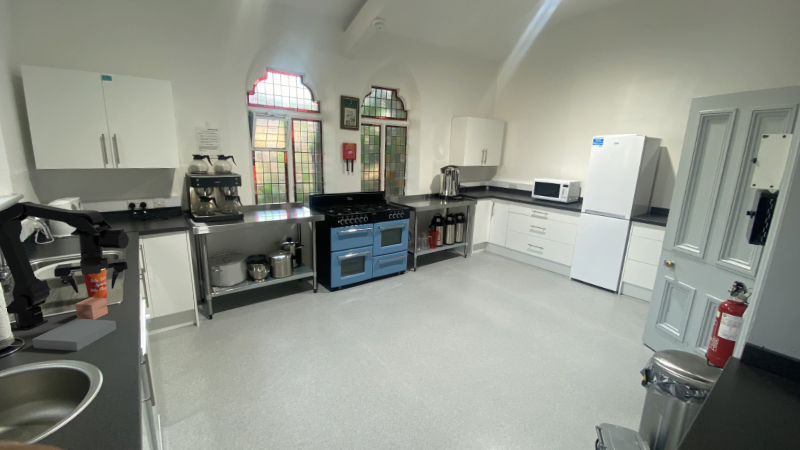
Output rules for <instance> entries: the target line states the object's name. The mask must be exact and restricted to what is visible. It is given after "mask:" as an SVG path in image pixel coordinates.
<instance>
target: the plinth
mask: <svg viewBox="0 0 800 450" xmlns="http://www.w3.org/2000/svg"><path fill="white" fill-rule="evenodd" d="M116 322H117V321H116V320H109V319H108V320H107V319H106V320H105V319H95V320H93V319H77V317H76V318H74V319H72V320H70V321H68V322H66V323H64V324H62V325H59V326H57V327H55V328H53V329H51V330H48V331H46V332H44V333H42V334H41V335H38V336H36V337H34V338H32V345H33V349H41V350H42V349H43V350H44V349H46V350H59V351H60V350H61V351H74V352H75V351H76V352H78V351H79V350H82V349H84V348H85V347H87V346H89V345H91V344H92V343H94V342H96V341H97V340H99V339H101V338H103V337H105V336H106V335H108V334H110V333H112V332H113V331H115V330H117V323H116Z"/></svg>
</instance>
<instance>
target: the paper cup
mask: <svg viewBox="0 0 800 450" xmlns="http://www.w3.org/2000/svg"><path fill="white" fill-rule="evenodd" d="M83 278H84V282H85V283H84V284H85V286H86V287H85V288H86V292H87V297H88V298H91V297H92V298H106V299H107V297H108V290H107V285H108V284H107V268H106V269H101V273H99V274H88V275H83Z"/></svg>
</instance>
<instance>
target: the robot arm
mask: <svg viewBox="0 0 800 450" xmlns="http://www.w3.org/2000/svg"><path fill="white" fill-rule="evenodd" d="M29 217H31V218H33V217H34V218H38V219H43V220H49V221H54V222H59V223H61V222H62V223H64V224H66V225H68V226H69V227H72V228H75V229H74V230H73V231H72V232H70V235H71V236H78V242H79V243H78V244H79V252H80V253H79V254H80V259H79V260H80V261H79V264H80V265H74V266H73V263H72V262H71V263H63V264H57V265H55V268H54V270H53V274H54V278H60V279H61V280H63V279H65V280H66V281H67V282H68V283H69V284H70V285H71V287H72V288H73V290H74V292H75V293H76V294H79V285H78V281H77V277H76V272H81V275H82V276H84V275H88V274H99V273H101V269H106V270H107V269H112V273H111V275H112V276H111V290H112V289H114V287H115V285H116V280H117V278H118V276H119V274H120V273H123V272H124V271H127V270H129V269H128V268H129V267H128V266H129V265H128V263H129V262H128V259H127V258H117V259H112V262H109V259H108V257H104V251H103V248H104V249H121V250H122V249H123V250H124V249H126V248H127V247H128V245H129V240H130V237H129V236H128V234H127V232H125V229H124V228H113V227H112V226H111V225H110V223H108V222H107V220H106V219H105V218H104V217H103V215H102V214H101V212H100V211H98V210H95V209H93V210H92V209H66V208H61V207H56V206H51V205H46V204H40V203H35V202H32V201H22V202H21V201H20V202H17V203H14V204H13V205H10V206H9V207H7V208H5V209H2V210H0V250H1V253H2V255H3V257H4V261H5V262H6V264H7V267H8V269H9V271H10V274H11V276H12V280H13V281H14V284H13V285H14V286H13V288H12V292H11V295H12V299H13V300H12V301H11V302H10V303H9V304H8V305H7V306H6V307H5V308H7V311H6V313H8V315H9V314H10V315H11V314H13V315H14V319H15V320H14V321H15V324H14V325H12V326H11V327H12V328H11V329H14V330H15V329H16V330H31V329H34V328H35V327H38V326H40V325H43V324H45V323H48V322H49V319H47V318H44V313H43V310H42V307H41V305H45V304H46V301H47V299H48V298H49V296H50V291H52V290H51V288H50V287H49V284H48V281H47V279H43V280H40V279H39V278H37V276H36V275H35V272H34V270H33V266H32V264H31V263H30V260H29V257H28V255H27V253H26V250H25V248H24V245H23V242H22V240H21V235H22V231H23V226H22V225H23V224H22V222H23V221H25V220H26V219H28V218H29Z"/></svg>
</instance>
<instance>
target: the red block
mask: <svg viewBox="0 0 800 450" xmlns="http://www.w3.org/2000/svg"><path fill="white" fill-rule="evenodd" d="M108 310H109V309H108V302H107V297H106V298H92V297H91V298H89V297H88V298H86V299H84V300H81V301H79V302H77V303H75V311H76V318H77V319H93V320H98V319H99V318H101V317H102V316H104V315H107V314H108V313H109V311H108Z"/></svg>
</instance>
